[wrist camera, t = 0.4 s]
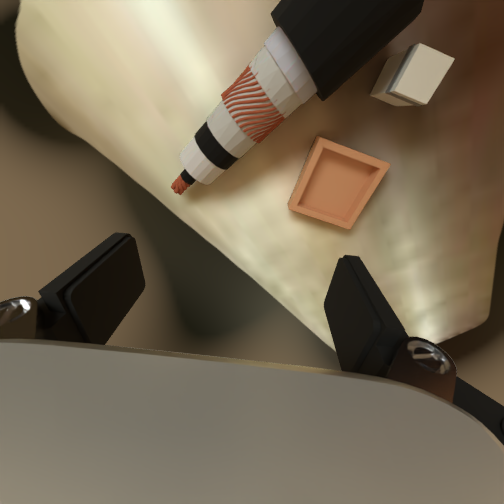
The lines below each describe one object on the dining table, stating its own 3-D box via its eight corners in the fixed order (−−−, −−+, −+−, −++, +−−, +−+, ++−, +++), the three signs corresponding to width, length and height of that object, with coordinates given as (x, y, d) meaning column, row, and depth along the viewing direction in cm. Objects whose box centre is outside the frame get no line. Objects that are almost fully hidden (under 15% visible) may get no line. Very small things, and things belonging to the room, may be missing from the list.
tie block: (387, 56, 28) (420, 41, 22) (417, 69, 28) (456, 57, 22) (368, 96, 30) (393, 91, 24) (395, 107, 30) (426, 105, 24)
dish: (316, 135, 33) (320, 137, 31) (383, 160, 34) (390, 164, 32) (287, 203, 38) (288, 209, 36) (345, 223, 40) (349, 229, 37)
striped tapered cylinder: (182, 167, 41) (133, 158, 32) (361, -32, 25) (362, -158, 16) (210, 213, 40) (168, 217, 32) (411, 41, 24) (439, -47, 16)
